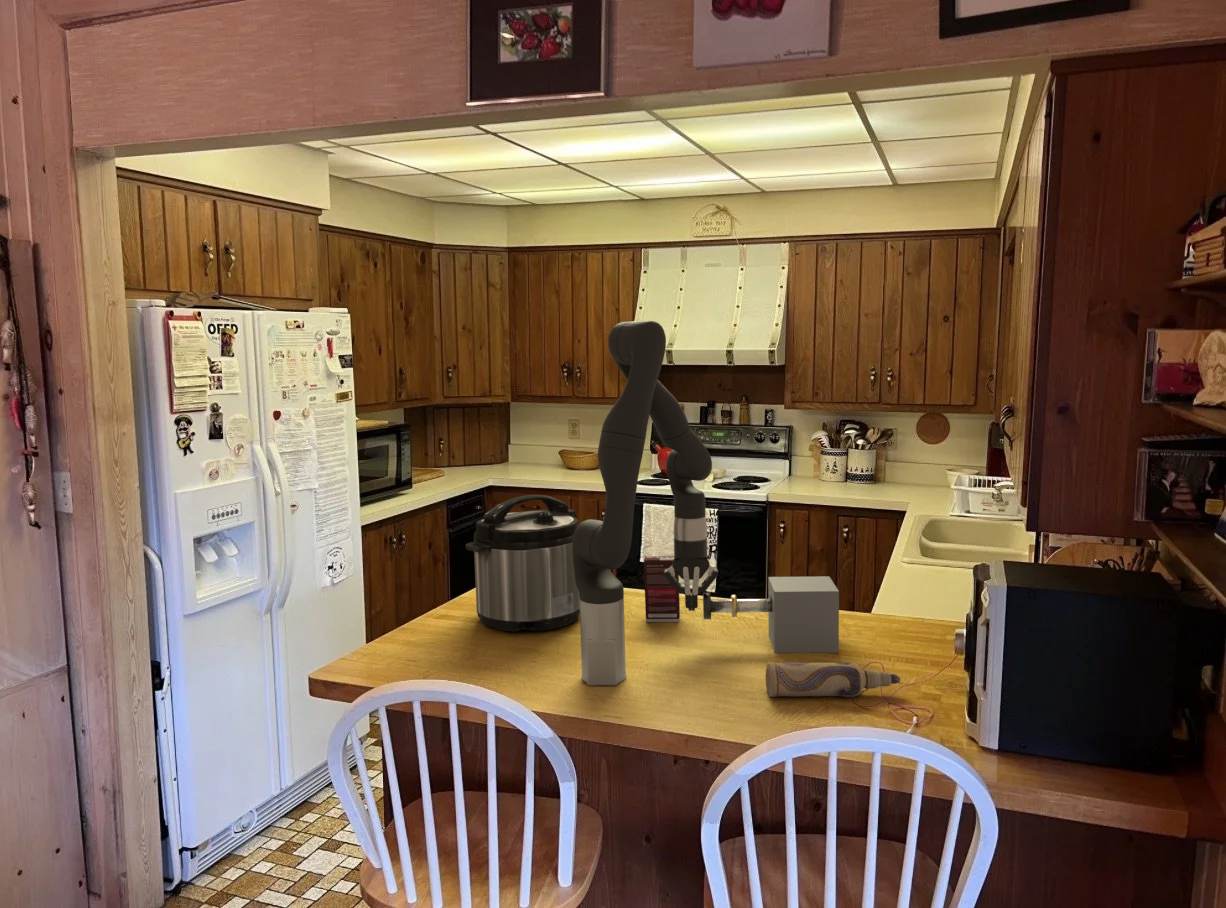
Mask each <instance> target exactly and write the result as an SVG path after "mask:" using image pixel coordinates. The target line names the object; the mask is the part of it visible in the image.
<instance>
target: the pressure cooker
mask: <svg viewBox="0 0 1226 908" xmlns="http://www.w3.org/2000/svg"><path fill="white" fill-rule="evenodd" d="M531 500H536V501H537V500H539V501H542V502H543V504H544V505H545V507H546V508H547V509H548V510H546V509H545V510H526V511H525V510H524V511H519V512H510V511H511V510H512V509H513V508H514V506H515V505H516V506H517V505H520V504H522V503H526V502H528V501H531ZM577 515H578V514H577V511H576V510H574V509H571V508H569V505H568V504H566V503H565V502H564V501H561V500H560V499H557V498H555V497H552V496H550V495H549V496H548V495H544V494H543V495H541V494H529V495H521V496H517V497H513V498H510V499H508V500H506V501H503V502H502V503H499V504H497V505H495V506H494V507H493V508H491V509H490V510H488V511H487V512H486V513H485V514H483V518H482V519H480V520H478V521H477V522H476V523H475V531H474V533H473V541H471V542H468V543H466V544H465V549H466V550H468V551H471V552H473V555H474V556H473V557H474V577H475V578H474V579H475V582H474V583H475V597H476V598H475V603H476V614H477V616H478V618H479V619H480V621H481V623H483V624H484V625H485V626H489V627H492V628H494V629H498V630H501V631H507V632H519V631H521V630H526V631H527V630H528V631H532V632H533V631H549V630H554V629H558V628H562V627H565V626H568V625H570V624H572V623H573V622H575V621H576V620H578V618H580V602H579V591H578V589H577V586H576V584H575V578H574V566H573V554H572V542H573V536H574V533H575V530H576V528H577V527H578V526H579V520H578V517H577Z"/></svg>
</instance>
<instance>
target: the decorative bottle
mask: <svg viewBox="0 0 1226 908" xmlns="http://www.w3.org/2000/svg"><path fill="white" fill-rule="evenodd" d="M900 683H901V678H900V676H899V675H898V674H894V673H890V672H888V671H877V670H875V669H864V670H862V669H861V668H860V666H859V665H858V664H857V663H855V662H772V661H771V662H767V664H766V668H765V686H766V693H767V695H768V697H772V698H775V697H841V698H855V697H858V696H860V695H861V694H863V693H864V692H866V691H868V690H870V689H877V688H879V687H882V688H883V687H890V686H892V684H893V685H896V684H900ZM863 689H865V690H863Z"/></svg>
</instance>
